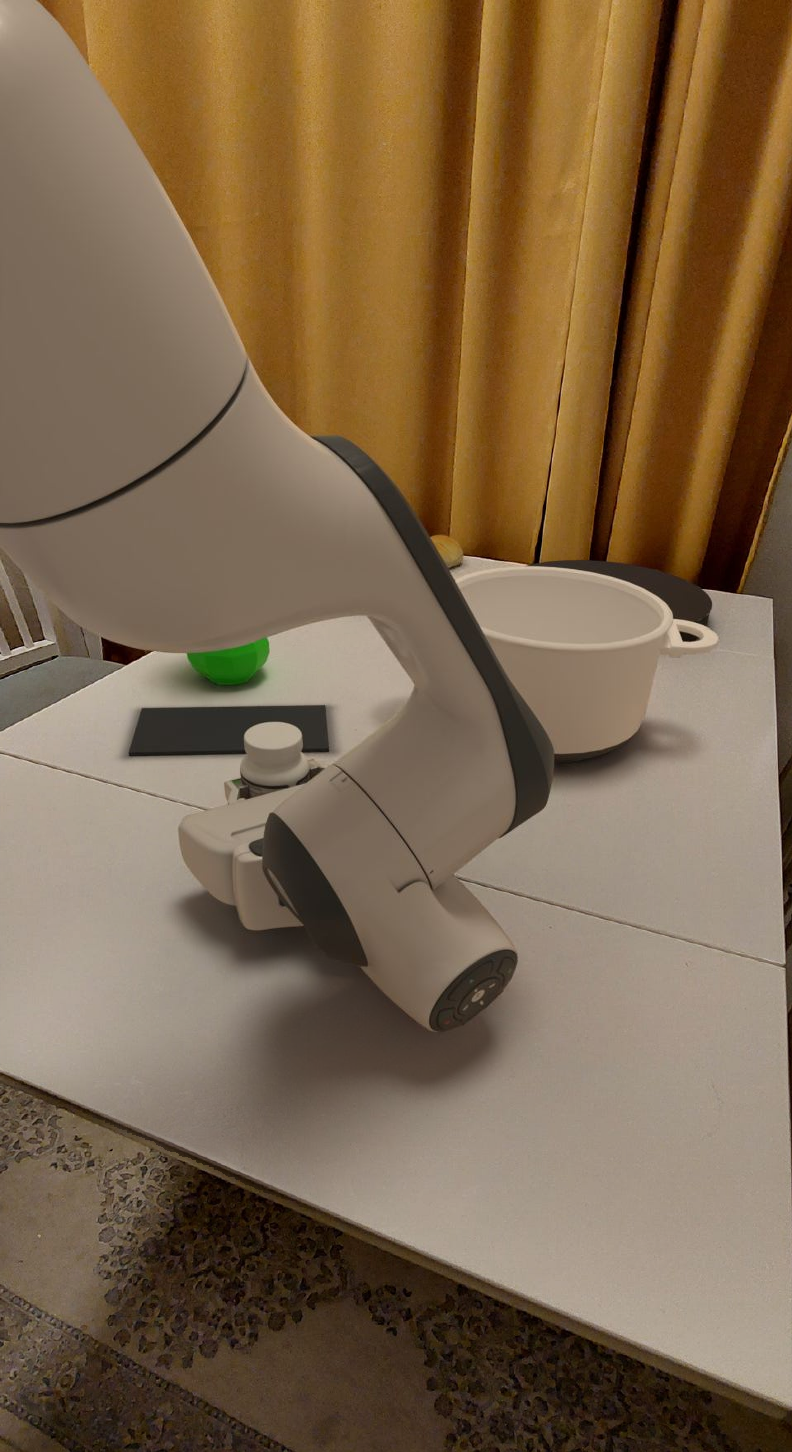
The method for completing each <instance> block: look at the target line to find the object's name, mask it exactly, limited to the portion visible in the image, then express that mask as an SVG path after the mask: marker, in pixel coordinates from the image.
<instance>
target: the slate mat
mask: <svg viewBox="0 0 792 1452" xmlns="http://www.w3.org/2000/svg"><path fill="white" fill-rule="evenodd" d="M326 707H327V706H326V705H325V704H321V705H320V704H313V705H312V704H310V705H309V704H307V705H306V704H304V705H244V706H243V705H242V706H241V705H240V706H239V705H238V706H179V707H142V708H141V710H140V713H139V716H138V720H137V723H136V726H135V729H134V733H133V736H132V740H131V743H130V746H129V749H128V756H130V757H136V756H138V757H139V756H173V755H175V756H179V755H180V756H181V755H182V756H183V755H224V754H226V755H228V754H229V755H231V754H247V753H246V752H245V748H244V735H245V733H246V731H247V730H248V729H250V728H251V727H253V726H255V725H258V724H261V723H267V722H283V723H288V724H291V725H293V726H295V727H297V728H298V729H299V730H300V731H301V733H302V741H303V748H302V750H301V752H302V753H311V752H312V753H319V752H320V753H321V752H330V744H329V731H328V720H327V708H326Z"/></svg>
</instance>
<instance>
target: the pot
mask: <svg viewBox="0 0 792 1452" xmlns="http://www.w3.org/2000/svg"><path fill="white" fill-rule="evenodd" d="M454 580H455V582H456V584H457V585H458V587H459V589H460V591H461V593H462V595H463V596H464V598H465V600H466V602H467V604H468V606H469V607H470V609H471V611H472V613H473V615H474V617H475V618H476V620H477V622H478V624H479V626H480V628H481V629H482V631H483V633H484V635H485V637H486V638H487V640H488V642H489V644H490V646H491V648H492V649H493V651H494V653H495V655H496V657H497V659H498V660H499V662H500V664H501V666H502V667H503V669H504V671H505V673H506V675H507V676H508V678H509V679H510V681H511V682H512V684H513V685H514V686H515V688H516V689H517V691H518V692H519V693H520V695H521V696H522V698H523V699H524V700H525V702H526V703H527V704H528V706H529V707H530V709H531V710H532V711H533V713H534V714H535V716H536V717H537V719H538V720H539V722H540V723H541V725H542V726H543V728H544V730H545V731H546V733H547V735H548V737H549V739H550V741H551V743H552V745H553V749H554V763H563V762H564V763H566V762H577V761H582V760H589V759H592V758H595V757H599V756H602V755H604V754H607V753H609V752H611V751H613V750H616V749H617V748H619V747H620V746H622V745H624V744H625V743H626V742H627V741H628V740H629V739H630V738H632V737H633V736H634V735H635V734H636V733H637V732H638V731H639V728H640V727H641V725H642V723H643V720H644V718H645V716H646V713H647V709H648V705H649V701H650V696H651V692H652V688H653V684H654V680H655V675H656V671H657V666H658V661H659V658H660V655H668V657H669V658H670V659H671V658H673V659H680V658H681V657H682V656H683V655H702V654H707V653H710V652H712V651H715V649H717V646H718V643H719V636H718V634H717V633H716V632H715V631H713V630H711V628H710V627H707V626H704V625H701V624H698V623H695V622H690V621H686V620H678V619H673V614H672V611H671V610H670V608H669V607H668V605H667V604H666V603H665V602H664V601H663V600H661V599H660V598H659V597H658V596H656V595H654V594H652V593H651V592H649V591H647V590H645V589H644V588H641V587H639V586H637V585H634V584H632V583H629V582H627V581H623V580H620V579H617V578H614V577H610V576H606V575H602V574H597V573H593V572H587V571H581V570H575V569H566V568H556V567H538V566H527V565H523V566H507V567H496V568H495V567H494V568H490V569H489V568H488V569H484V570H478V571H475V572H471V573H468V574H465V575H462V576H460V577H457V578H456V579H455V578H454ZM679 631H682V632H687V633H690V634H693V635H695V636H697V638H699V640H696V641H689V642H683V641H682V638H681V636H680V633H679Z"/></svg>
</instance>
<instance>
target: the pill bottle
mask: <svg viewBox="0 0 792 1452" xmlns="http://www.w3.org/2000/svg"><path fill="white" fill-rule="evenodd" d="M244 748H245V752H246V753H245V755H244V757H243V758H242V760H241V762H240V767H239V776H240V778H242V779H243V781H244V782H246V783H247V784H248V786H249V794H248V796H249V797H250V798H254V797H257V796H261V795H265V794H268V793H272V792H276V791H279V790H283V789H287V788H290V787H294V786H298V785H301V784H305V783H307V782H308V781H310V766H309V762H308V758H307V756H306V755H305V754H304V752H301V750H302V748H303V741H302V733H301V731H300V730H299V729H298V728H297V727H295V726H293V725H291V724H288V723H283V722H267V723H261V724H258V725H255V726H253V727H251V728H250V729H248V730H247V731H246V733H245V735H244Z"/></svg>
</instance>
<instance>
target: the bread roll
mask: <svg viewBox="0 0 792 1452" xmlns="http://www.w3.org/2000/svg"><path fill="white" fill-rule="evenodd" d="M430 538H431V540H432V541H433V543H434V545H435V546H436V548H437V550H438V552H439V553H440V555H441V557H442V558H443V560H444V562H445V564H446V565H447V567H448V569H450V568H452V567H456V566H458V565H459V564H461V563H462V562H463V560H464V551H463V549H462V546H461V545H460V544H459V542H458V541H457V540H456V539H454V538H452V537H450V536H449V535H444V534H434V535H432V536H430Z"/></svg>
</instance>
